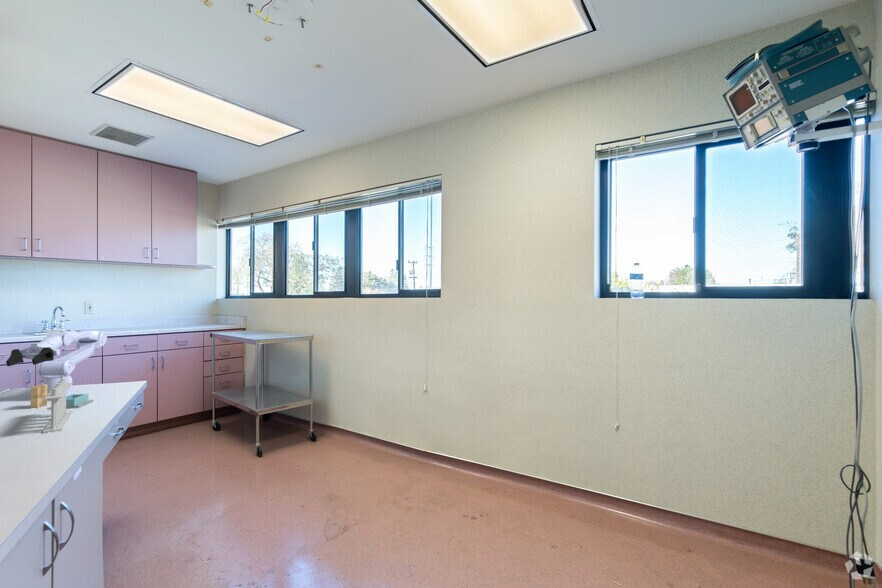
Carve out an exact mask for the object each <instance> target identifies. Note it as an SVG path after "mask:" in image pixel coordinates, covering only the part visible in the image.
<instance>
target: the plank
mask: <svg viewBox="0 0 882 588" xmlns="http://www.w3.org/2000/svg"><path fill="white" fill-rule="evenodd" d="M46 396H47V384H45V385H43V384H38V385H34V386H31V387H30V408H36V409H40V408H43V407H46V406H47V405H48V400H44V398H45V397H46ZM42 406H43V407H42ZM39 407H40V408H39Z"/></svg>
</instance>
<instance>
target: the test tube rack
mask: <svg viewBox="0 0 882 588" xmlns="http://www.w3.org/2000/svg"><path fill="white" fill-rule="evenodd" d="M66 381H67V380H66V379H60V381H59V382H58V383H57V384H56V386H54V388H53V389H52V390H51V391H50V392H49V393H48V394H47V396H46V397H45V398H44V400H47V399H51V400H50V402H51V403H50V404H51V406H50V421H49V422H48V424H47V425H46V426H45V428H44V429H43V430H42V434H43V433H44V434H49V433H48V432H51V433H56V432H55V431H59V432H62V431H63V430H64V428H65V427H64V426H66V425H65V424H67V423H68V421H69V420H70V418H71V416H72V414H73V410H67V408H66V392H67V391H68V389H69V388H70V387H71V385H72V386H73V382H72V383H66ZM47 401H48V400H47ZM70 415H71V416H70ZM69 417H70V418H69ZM66 422H67V423H66ZM61 430H62V431H61Z"/></svg>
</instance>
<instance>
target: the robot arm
mask: <svg viewBox="0 0 882 588" xmlns="http://www.w3.org/2000/svg"><path fill="white" fill-rule="evenodd" d="M107 340H108V334H107V332H106V331H102V330H100V331H99V330H81V331H77V330H73V329H71V328H70V329H66V330H61V331H60V332H58V331H57V332H56V331H55V332H47V334H46V336H45V338H43V339H42V340H40V341H39V342H33V343H30V346H28V347H26V348H22V349H21V350H20V348H16V349H12V350H11V351H10V356H9V357H8V359H6V361H5V363H6V366H7V367H11V366H15V365H16V364H22V363H25V362H24V359H25V360H31V362H32V365H33V366H34V365H37V369H36V370H37V374H38V375H39V376H40V377H41V379H42V378H43V382H42V383H43V384H42V385H45V384H47V394H48V393H49V392H50V391H51V390H52V389H53V388H54V386H56V384H57V383H58V382H59V381H60V379H66V380H67V381H66V383H73V378H72V376H71V373H72V372H73V371H74V370H75V369H76V365H78V364H79V363H81V362H83V361H84V360H87V359H88V358H90V357H92V356H94V354H95V353H96V352H97V351H98V349H99V348H101V347H102V348H103V347H104V346H105V345H106V343H107ZM71 344H75V345H76V347H75V350H73V351H71V352H69V353H67V354H66V355H63V356H61V357H59V358H54V357H55V356H56V357H57V356H59V355H60V354H61V350H60V348H61V347H66V346H67V347H69V346H70V345H71ZM71 394H76V393H75V392H73V384H72V385H71V387H70V388H69V389H68V391H67V392H66V396H68V395H71ZM47 401H51V399H47Z"/></svg>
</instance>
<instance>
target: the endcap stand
mask: <svg viewBox="0 0 882 588" xmlns="http://www.w3.org/2000/svg"><path fill="white" fill-rule="evenodd" d="M93 402H94V399H89V393H75V394H71V395H68V396H66V409H79V408H82V407H84V406H86V404H87V405H89V404H92V403H93ZM81 406H82V407H81Z"/></svg>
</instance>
